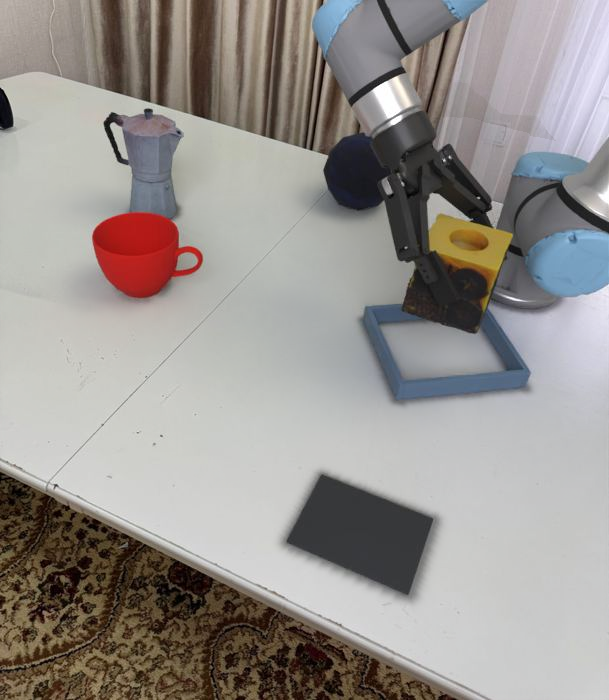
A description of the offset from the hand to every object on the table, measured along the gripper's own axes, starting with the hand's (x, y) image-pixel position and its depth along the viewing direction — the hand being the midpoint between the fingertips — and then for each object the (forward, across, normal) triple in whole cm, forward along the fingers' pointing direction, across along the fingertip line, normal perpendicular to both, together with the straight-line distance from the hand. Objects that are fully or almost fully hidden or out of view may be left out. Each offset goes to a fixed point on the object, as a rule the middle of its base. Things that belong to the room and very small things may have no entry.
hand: (475, 281), depth 78 cm
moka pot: (-34, 0, -59) cm, 68 cm away
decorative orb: (-16, -32, -41) cm, 55 cm away
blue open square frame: (+10, -5, -15) cm, 18 cm away
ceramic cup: (-20, +15, -45) cm, 52 cm away
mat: (+16, +28, -8) cm, 34 cm away
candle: (+2, 0, -6) cm, 6 cm away
